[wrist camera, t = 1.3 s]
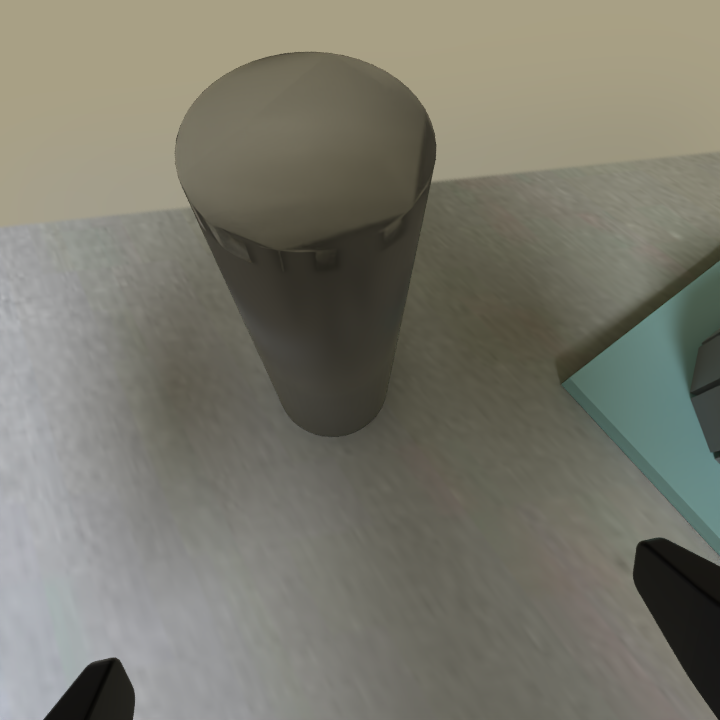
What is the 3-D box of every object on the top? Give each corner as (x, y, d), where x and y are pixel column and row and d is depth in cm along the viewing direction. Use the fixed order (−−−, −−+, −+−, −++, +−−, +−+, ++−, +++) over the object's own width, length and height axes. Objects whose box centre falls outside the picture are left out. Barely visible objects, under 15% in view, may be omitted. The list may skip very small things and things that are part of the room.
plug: (409, 394, 20) (490, 166, 8) (318, 459, 19) (264, 302, 7) (345, 315, 21) (337, 20, 9) (257, 371, 20) (128, 118, 8)
